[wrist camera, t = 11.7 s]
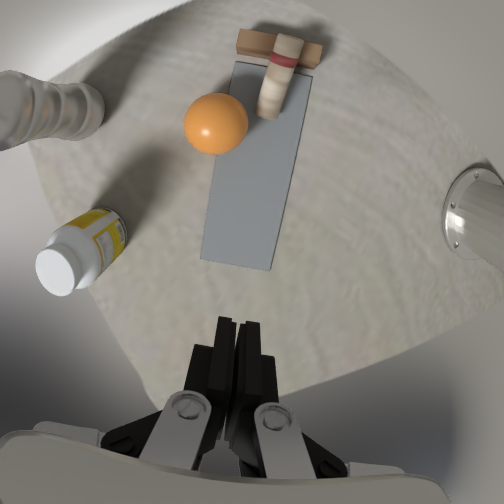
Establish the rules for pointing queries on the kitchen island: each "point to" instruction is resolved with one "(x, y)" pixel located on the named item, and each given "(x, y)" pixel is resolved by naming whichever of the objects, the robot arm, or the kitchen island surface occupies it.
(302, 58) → the back wall
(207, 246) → the plate
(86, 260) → the pill bottle
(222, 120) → the ball
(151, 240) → the kitchen island surface
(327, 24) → the kitchen island surface
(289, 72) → the pin
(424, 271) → the kitchen island surface
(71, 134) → the plastic bottle
